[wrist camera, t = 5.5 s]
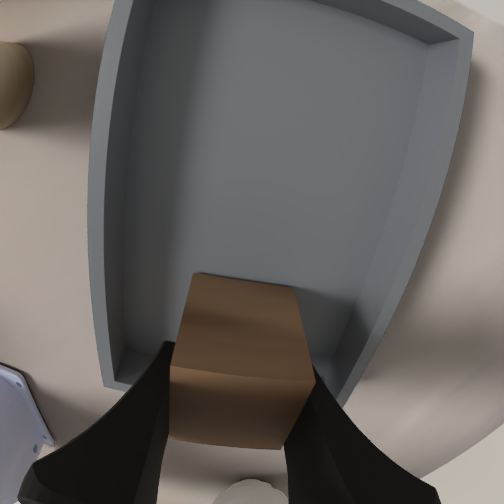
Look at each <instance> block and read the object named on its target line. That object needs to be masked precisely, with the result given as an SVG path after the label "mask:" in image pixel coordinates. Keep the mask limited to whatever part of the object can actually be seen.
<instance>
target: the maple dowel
mask: <svg viewBox="0 0 504 504" xmlns="http://www.w3.org/2000/svg"><path fill="white" fill-rule="evenodd" d="M33 82H34V67H33V62H32V59H31V56H30V54H29V52H28V51H27V50H26V48H24V47H23V46H22V45H20V44H17V43H10V42H2V41H0V130H2V129H5V128H7V127H9V126H10V125H12V124H13V123H14V122H15V121H16V120H17V119H18V118H19V117H20V116H21V114H22V113H23V111H24V110H25V108H26V106H27V104H28V101H29V99H30V96H31V92H32V88H33Z"/></svg>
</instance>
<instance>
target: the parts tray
mask: <svg viewBox="0 0 504 504" xmlns="http://www.w3.org/2000/svg"><path fill="white" fill-rule="evenodd" d="M473 38H474V32H473V31H471V30H469V29H468V28H466V27H465V26H463V25H461V24H460V23H458V22H456V21H455V20H453V19H451V18H449V17H448V16H446V15H444V14H442V13H440V12H438V11H437V10H435V9H433V8H431V7H429V6H427V5H425V4H423V3H421V2H419V1H417V0H115V2H114V6H113V10H112V13H111V17H110V22H109V26H108V30H107V34H106V39H105V44H104V49H103V54H102V59H101V64H100V70H99V76H98V82H97V89H96V96H95V103H94V111H93V120H92V130H91V141H90V154H89V171H88V203H87V227H88V259H89V276H90V290H91V301H92V311H93V320H94V328H95V336H96V343H97V350H98V356H99V363H100V368H101V374H102V380H103V385H104V387H108V388H112V389H116V390H120V391H125V392H127V391H128V390H129V389H130V388H131V386H132V385H133V384H134V383H135V382H136V380H137V379H138V378H139V377H140V375H141V374H142V373H143V371H144V370H145V369H146V368H147V366H148V365H149V363H150V362H151V360H152V359H153V357H154V356H155V354H156V353H157V351H158V349H159V348H160V346H161V344H162V342H164V341H172V342H176V339H177V335H178V331H179V327H180V322H181V318H182V314H183V310H184V306H185V303H186V299H187V295H188V291H189V287H190V283H191V279H192V276H193V273H198V274H204V275H210V276H217V277H223V278H230V279H236V280H243V281H249V282H256V283H263V284H270V285H276V286H283V287H290V288H294V292H295V296H296V300H297V304H298V308H299V312H300V316H301V321H302V325H303V329H304V333H305V337H306V342H307V346H308V350H309V354H310V359H311V363H312V364H313V366H314V367H315V369H316V371H317V372H318V374H319V375H320V377H321V379H322V380H323V382H324V383H325V385H326V386H327V388H328V389H329V391H330V392H331V394H332V395H333V397H334V398H335V399H336V401H337V402H338V404H339V405H340V406H341V408H343V406H344V405H345V403H346V402H347V400H348V398H349V397H350V395H351V393H352V392H353V390H354V388H355V386H356V385H357V383H358V381H359V380H360V378H361V376H362V374H363V372H364V371H365V369H366V367H367V365H368V363H369V362H370V360H371V358H372V356H373V354H374V352H375V350H376V348H377V347H378V345H379V343H380V341H381V339H382V337H383V335H384V333H385V331H386V329H387V327H388V325H389V323H390V321H391V319H392V316H393V314H394V312H395V310H396V308H397V306H398V304H399V301H400V299H401V297H402V295H403V293H404V290H405V288H406V286H407V283H408V281H409V279H410V276H411V274H412V272H413V269H414V267H415V264H416V262H417V259H418V257H419V254H420V252H421V249H422V247H423V244H424V241H425V239H426V236H427V233H428V230H429V228H430V225H431V222H432V219H433V216H434V213H435V210H436V207H437V204H438V201H439V198H440V195H441V192H442V189H443V185H444V182H445V179H446V175H447V172H448V168H449V165H450V161H451V157H452V153H453V150H454V146H455V142H456V137H457V133H458V129H459V124H460V120H461V115H462V110H463V105H464V100H465V95H466V89H467V83H468V77H469V70H470V63H471V56H472V47H473Z"/></svg>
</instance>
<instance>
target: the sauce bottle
mask: <svg viewBox="0 0 504 504" xmlns="http://www.w3.org/2000/svg"><path fill="white" fill-rule="evenodd" d="M213 504H289V499H288V498H287V497H286V496H285V495H284V493H283V492H282V491H280V490H277V489H274V488H272V486H271V485H270V484H269V483H266V482H261V481H260V480H256V479H245V480H242V481H240V482H237V483H234V484H232V485H231V486H230V487H229V489H227V490H225V491H223V492H221V493H220V494H219V495H218V497H217V498H216V499H215V501H214V502H213Z"/></svg>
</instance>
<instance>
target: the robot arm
mask: <svg viewBox="0 0 504 504" xmlns="http://www.w3.org/2000/svg"><path fill="white" fill-rule="evenodd" d="M175 343H176V342H172V341H164V342H162V344H161V346H160V348H159V349H158V351H157V353H156V354H155V356H154V357H153V359H152V360H151V362H150V363H149V365H148V366H147V368H146V369H145V370H144V371H143V373H142V374H141V375H140V377H139V378H138V379H137V380H136V382H135V383H134V384H133V385H132V386H131V388H130V389H129V390H128V391H127V392H126V393H125V394H124V395H123V397H122V398H121V399H120V400H119V401H118V402H117V403H116V404H115V405H114V406H113V407H112V408H111V409H110V410H109V411H108V412H107V413H106V414H105V415H103V416H102V417H101V418H100V419H99V420H98V421H96V422H95V423H94V424H93V425H92V426H90V427H89V428H88V429H87V430H85V431H84V432H83V433H81V434H80V435H79V436H77V437H76V438H74V439H73V440H71V441H70V442H68V443H67V444H65V445H64V446H62V447H61V448H59V449H57V450H56V451H54V452H52V453H50V454H48V455H47V456H45V457H43V458H41V459H39V460H37V459H38V456H39V454H40V451H41V449H42V446H43V444H44V443H45V444H47V445H50V446H53V444H54V441H53V439H52V437H51V435H50V433H49V431H48V429H47V427H46V425H45V423H44V421H43V419H42V417H41V415H40V413H39V411H38V409H37V407H36V404H35V402H34V400H33V398H32V395H31V393H30V391H29V388H28V386H27V384H26V381H25V379H24V377H23V375H22V374H20V373H19V372H17V371H14V370H12V369H10V368H7V367H5V366H2V365H0V504H14V503H15V502H17V501H19V502H20V503H21V504H156V502H157V494H158V485H159V478H160V470H161V464H162V459H163V454H164V450H165V446H166V442H167V439H168V435H169V392H170V364H171V360H172V356H173V352H174V347H175ZM312 367H313V372H314V376H315V380H316V383H315V385H314V387H313V389H312V391H311V393H310V395H309V397H308V399H307V401H306V403H305V405H304V407H303V409H302V411H301V413H300V415H299V417H298V419H297V420H296V422H295V424H294V426H293V428H292V430H291V432H290V434H289V435H288V437H287V439H286V441H285V443H284V451H285V457H286V464H287V472H288V495H289V504H441V502H440V499H439V496H438V493H437V491H436V489H435V488H434V487H433V486H431V485H429V484H427V483H425V482H423V481H422V480H420V479H418V478H417V477H415V476H413V475H412V474H410V473H409V472H407V471H406V470H404V469H403V468H402V467H400V466H399V465H397V464H396V463H395V462H394V461H392V460H391V459H390V458H389V457H387V456H386V455H385V454H384V453H383V452H382V451H380V450H379V449H378V448H377V447H376V446H375V445H374V444H373V443H372V442H371V441H370V440H369V439H368V438H367V437H366V436H365V435H364V434H363V433H362V432H361V431H360V430H359V429H358V428H357V426H356V425H355V424H354V423H353V422H352V421H351V419H350V418H349V417H348V416H347V414H346V413H345V412H344V410H343V409H342V408H341V406H340V405H339V404H338V402H337V401H336V399H335V398H334V397H333V395H332V394H331V392H330V391H329V389H328V388H327V386H326V385H325V383H324V382H323V380H322V379H321V377H320V375H319V374H318V372H317V371H316V369H315V367H314V366H313V364H312Z"/></svg>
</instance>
